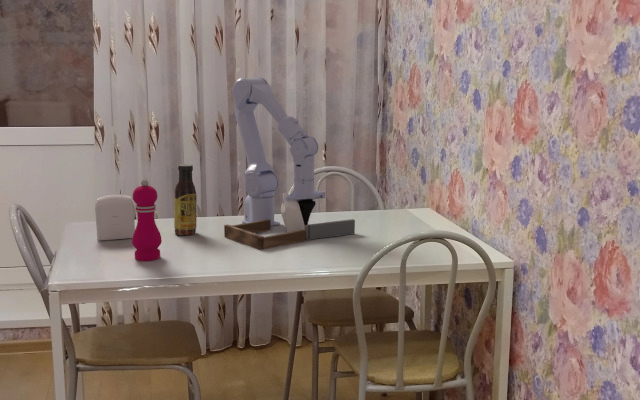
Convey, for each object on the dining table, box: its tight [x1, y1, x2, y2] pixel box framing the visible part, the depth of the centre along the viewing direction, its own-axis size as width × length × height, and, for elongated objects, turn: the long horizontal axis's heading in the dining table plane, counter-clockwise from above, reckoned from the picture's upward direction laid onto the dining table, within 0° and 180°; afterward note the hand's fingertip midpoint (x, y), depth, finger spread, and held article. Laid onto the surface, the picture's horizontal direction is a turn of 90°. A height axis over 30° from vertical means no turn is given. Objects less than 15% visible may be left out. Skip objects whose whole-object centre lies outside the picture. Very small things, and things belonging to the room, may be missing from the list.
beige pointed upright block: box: [280, 192, 305, 233], centre depth 201 cm, size 6×12×6 cm
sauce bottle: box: [173, 163, 198, 236], centre depth 200 cm, size 6×6×20 cm
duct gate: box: [308, 218, 356, 240], centre depth 199 cm, size 15×1×4 cm, turn 120°
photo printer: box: [94, 194, 136, 242], centre depth 195 cm, size 10×4×12 cm, turn 108°
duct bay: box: [223, 219, 309, 251], centre depth 197 cm, size 17×17×4 cm
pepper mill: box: [131, 178, 163, 262], centre depth 175 cm, size 7×7×20 cm
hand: (304, 225), depth 205 cm, fingers closed
